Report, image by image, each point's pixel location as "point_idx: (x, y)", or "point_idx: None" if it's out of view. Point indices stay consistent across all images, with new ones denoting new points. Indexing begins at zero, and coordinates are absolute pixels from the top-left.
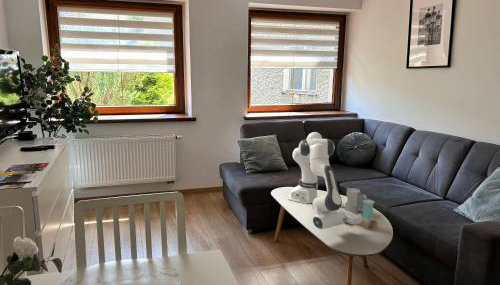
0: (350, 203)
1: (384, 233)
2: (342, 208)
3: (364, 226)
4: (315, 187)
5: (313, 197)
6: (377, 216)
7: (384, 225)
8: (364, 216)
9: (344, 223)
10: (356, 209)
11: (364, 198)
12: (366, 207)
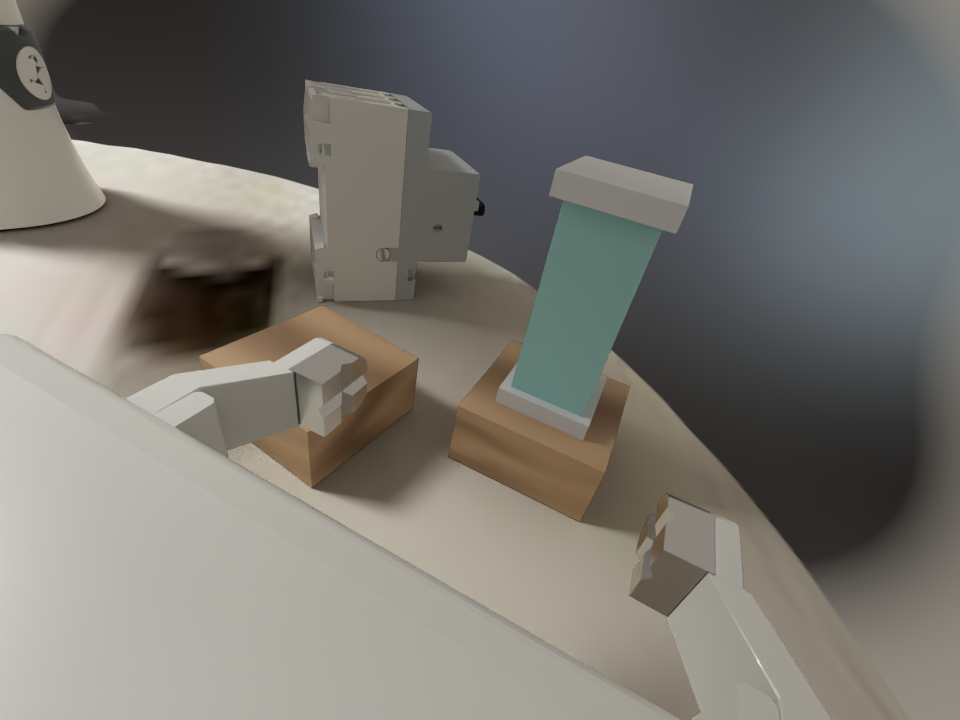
0: (348, 221)
1: (743, 532)
2: (179, 381)
3: (542, 488)
4: (2, 79)
5: (18, 180)
6: (533, 303)
7: (638, 392)
8: (541, 377)
9: (306, 481)
10: (398, 268)
11: (462, 173)
12: (597, 273)
